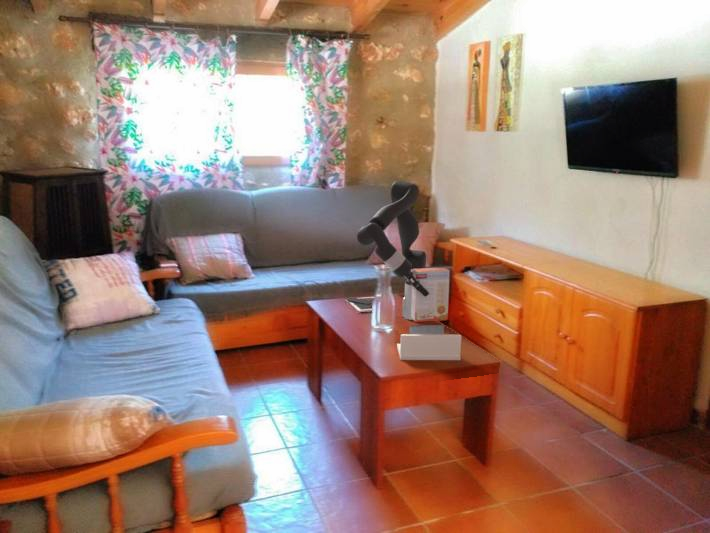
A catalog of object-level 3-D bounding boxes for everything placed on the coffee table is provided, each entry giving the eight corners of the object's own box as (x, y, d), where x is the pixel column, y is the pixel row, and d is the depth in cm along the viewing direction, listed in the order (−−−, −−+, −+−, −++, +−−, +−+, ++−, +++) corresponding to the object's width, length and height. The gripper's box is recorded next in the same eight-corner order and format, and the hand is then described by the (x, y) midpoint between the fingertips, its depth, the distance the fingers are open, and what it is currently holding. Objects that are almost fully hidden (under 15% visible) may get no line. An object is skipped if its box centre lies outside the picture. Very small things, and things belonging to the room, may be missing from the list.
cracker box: (442, 316, 241) (445, 266, 236) (447, 320, 235) (450, 270, 231) (410, 317, 238) (412, 267, 233) (414, 322, 232) (416, 271, 228)
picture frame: (345, 302, 308) (358, 314, 289) (345, 297, 307) (359, 309, 288) (373, 300, 313) (388, 312, 294) (373, 295, 312) (388, 306, 293)
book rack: (397, 346, 246) (397, 324, 244) (453, 347, 247) (454, 324, 245) (400, 360, 233) (401, 336, 230) (460, 360, 233) (461, 336, 231)
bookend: (409, 344, 245) (409, 325, 243) (442, 344, 246) (443, 325, 244) (409, 345, 244) (410, 326, 242) (442, 345, 244) (444, 326, 242)
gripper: (406, 261, 223) (435, 291, 226) (402, 253, 237) (430, 281, 240) (392, 274, 224) (421, 304, 227) (389, 265, 238) (416, 293, 241)
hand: (425, 292), depth 234 cm, fingers closed on cracker box, 6 cm apart
